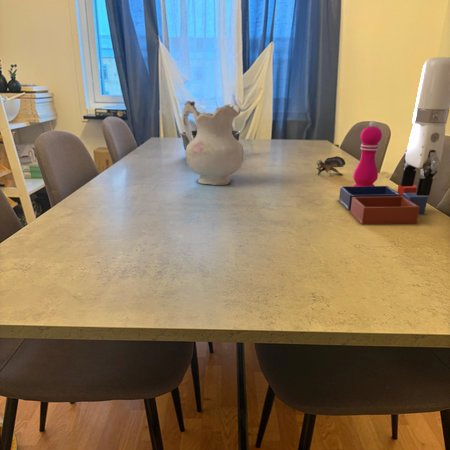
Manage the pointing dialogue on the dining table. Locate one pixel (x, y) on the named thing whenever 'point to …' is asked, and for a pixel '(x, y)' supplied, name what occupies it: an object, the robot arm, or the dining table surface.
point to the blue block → (417, 201)
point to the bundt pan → (194, 133)
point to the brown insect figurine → (330, 164)
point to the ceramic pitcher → (213, 144)
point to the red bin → (384, 210)
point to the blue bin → (363, 193)
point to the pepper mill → (368, 156)
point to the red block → (406, 189)
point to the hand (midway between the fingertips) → (414, 190)
